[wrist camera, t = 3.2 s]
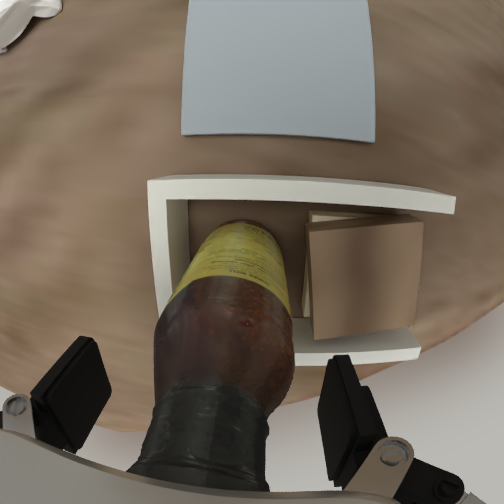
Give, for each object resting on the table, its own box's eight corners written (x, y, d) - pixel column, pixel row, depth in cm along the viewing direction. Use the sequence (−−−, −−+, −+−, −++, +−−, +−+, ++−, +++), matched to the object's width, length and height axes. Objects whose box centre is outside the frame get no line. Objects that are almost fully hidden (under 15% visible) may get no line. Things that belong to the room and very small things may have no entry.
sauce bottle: (193, 227, 23) (12, 436, 4) (272, 208, 22) (288, 471, 3) (217, 301, 25) (141, 539, 6) (290, 286, 24) (320, 548, 5)
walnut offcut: (408, 214, 19) (423, 221, 17) (402, 309, 22) (413, 324, 20) (304, 223, 20) (308, 232, 18) (310, 322, 23) (314, 340, 20)
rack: (422, 187, 21) (455, 196, 16) (397, 327, 25) (417, 358, 20) (172, 175, 21) (147, 180, 17) (181, 323, 26) (165, 357, 21)
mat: (362, -7, 16) (365, -12, 15) (370, 142, 20) (374, 142, 19) (194, -13, 16) (191, -19, 15) (184, 135, 20) (181, 135, 20)
